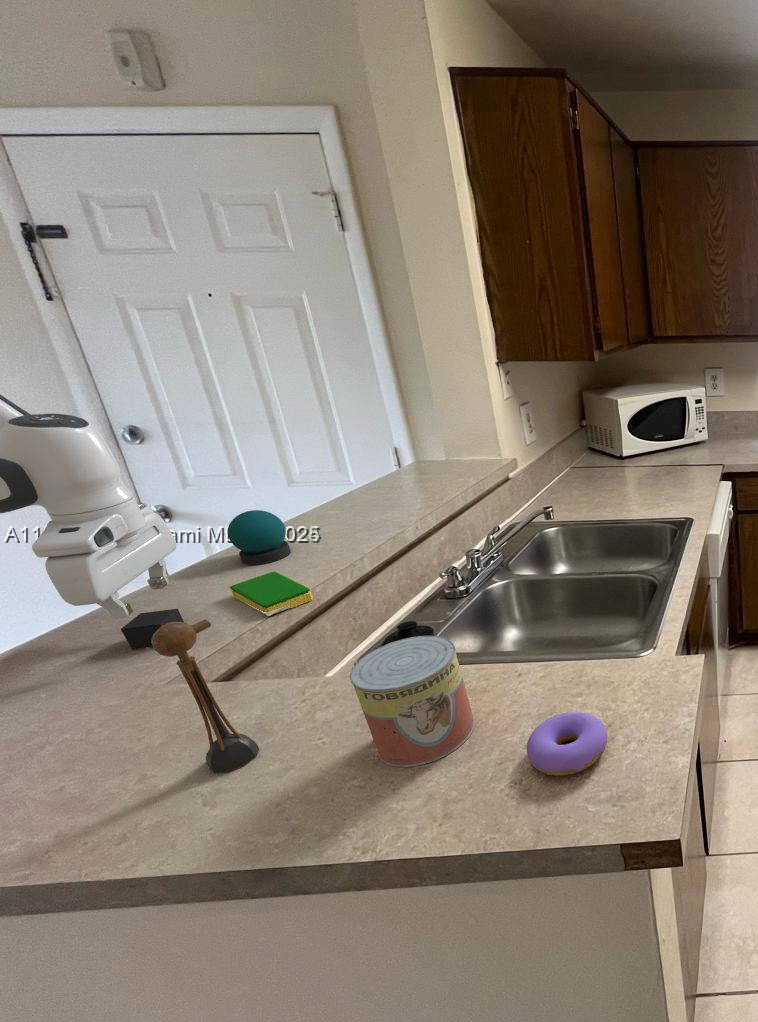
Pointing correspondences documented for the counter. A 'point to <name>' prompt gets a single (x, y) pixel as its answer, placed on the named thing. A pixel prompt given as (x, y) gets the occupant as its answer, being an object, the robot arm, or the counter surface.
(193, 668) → the wooden tabletop sculpture
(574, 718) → the donut
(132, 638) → the block
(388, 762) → the canned food
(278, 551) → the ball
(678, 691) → the counter surface
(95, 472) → the robot arm
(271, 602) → the dish sponge
